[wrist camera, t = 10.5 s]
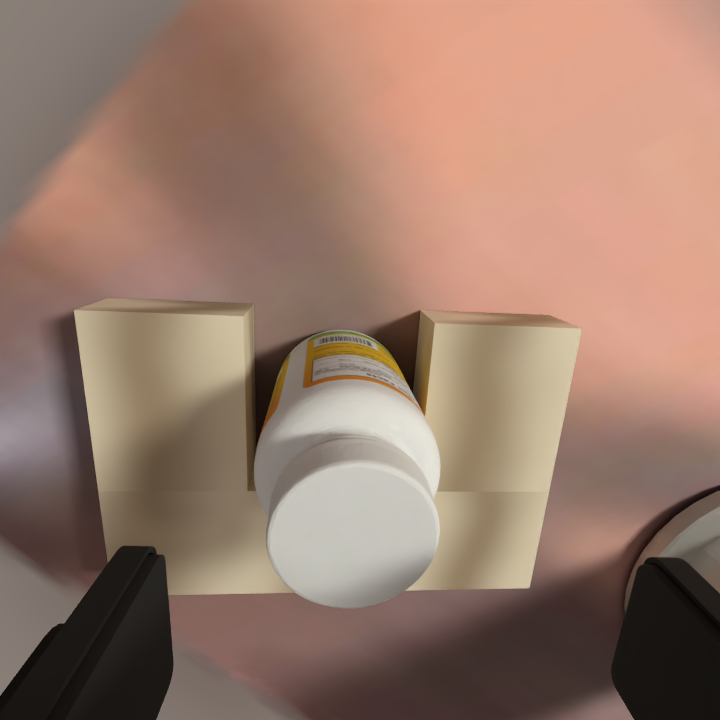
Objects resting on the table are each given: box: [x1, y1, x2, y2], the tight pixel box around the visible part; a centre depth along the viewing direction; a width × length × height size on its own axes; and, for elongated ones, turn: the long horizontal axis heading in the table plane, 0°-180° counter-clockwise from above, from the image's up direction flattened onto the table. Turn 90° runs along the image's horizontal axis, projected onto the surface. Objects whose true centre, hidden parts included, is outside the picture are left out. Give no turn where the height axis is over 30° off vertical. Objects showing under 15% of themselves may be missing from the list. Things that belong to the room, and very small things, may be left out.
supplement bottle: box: [254, 330, 441, 608], centre depth 15 cm, size 5×5×10 cm
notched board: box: [74, 298, 582, 595], centre depth 19 cm, size 18×12×2 cm, turn 87°
